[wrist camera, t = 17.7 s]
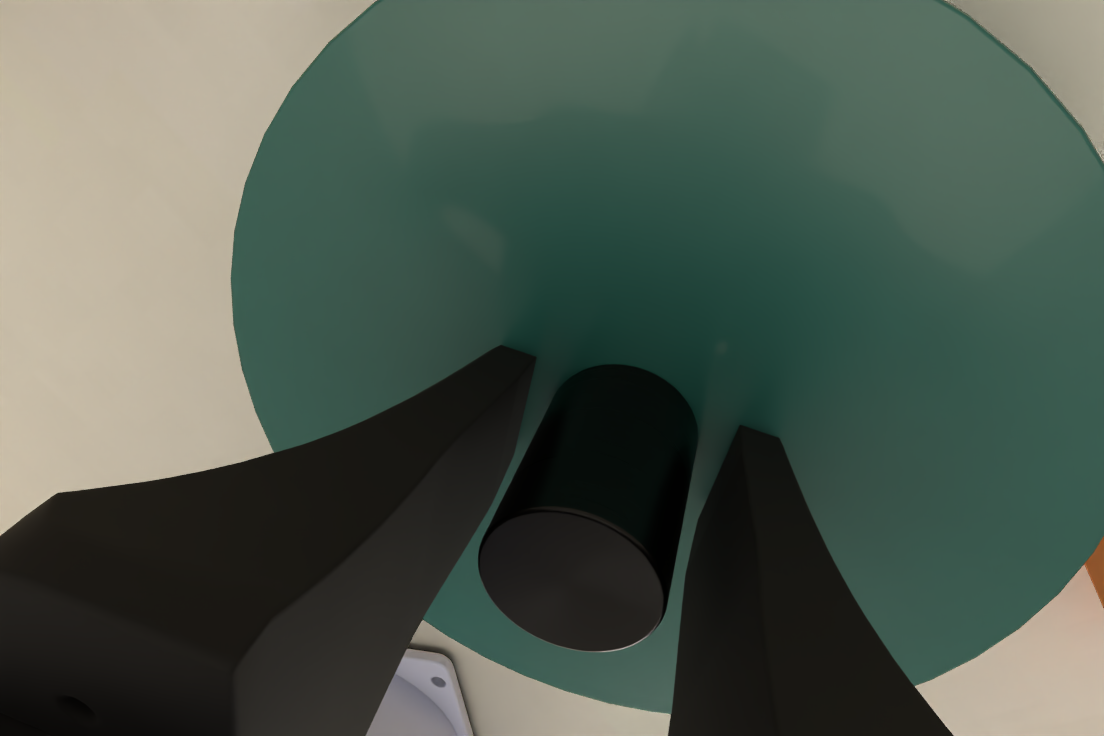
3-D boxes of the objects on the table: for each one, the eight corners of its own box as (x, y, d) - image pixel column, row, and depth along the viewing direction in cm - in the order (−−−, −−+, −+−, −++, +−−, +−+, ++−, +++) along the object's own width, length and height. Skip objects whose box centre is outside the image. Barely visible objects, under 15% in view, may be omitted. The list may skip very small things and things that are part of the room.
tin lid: (1032, 720, 14) (1114, 1006, 10) (373, 628, 18) (266, 809, 15) (1277, -190, 7) (1753, -292, 4) (150, -9, 12) (-153, 29, 8)
